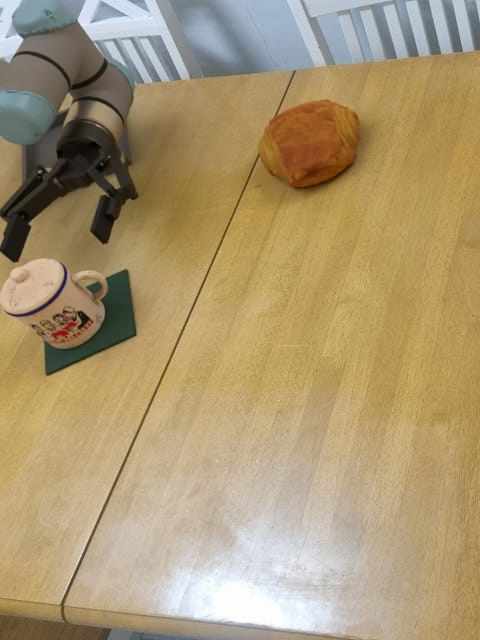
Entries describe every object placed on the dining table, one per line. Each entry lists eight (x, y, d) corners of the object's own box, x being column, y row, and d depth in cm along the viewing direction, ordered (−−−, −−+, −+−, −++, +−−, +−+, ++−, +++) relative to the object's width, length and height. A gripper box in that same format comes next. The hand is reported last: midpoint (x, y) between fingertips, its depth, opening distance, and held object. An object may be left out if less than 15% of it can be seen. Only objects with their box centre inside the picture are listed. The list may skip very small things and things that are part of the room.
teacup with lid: (50, 362, 99) (-17, 313, 89) (45, 316, 104) (-19, 264, 94) (131, 322, 100) (73, 269, 90) (122, 278, 105) (67, 223, 95)
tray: (32, 208, 119) (22, 198, 117) (30, 139, 130) (21, 128, 128) (132, 164, 119) (123, 152, 117) (122, 98, 130) (113, 87, 128)
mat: (47, 375, 98) (45, 374, 98) (44, 307, 106) (42, 306, 105) (136, 335, 99) (134, 333, 98) (127, 270, 106) (126, 268, 106)
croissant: (275, 151, 116) (245, 112, 110) (362, 110, 113) (336, 68, 107) (277, 212, 108) (244, 175, 102) (371, 170, 105) (343, 129, 99)
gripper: (180, 141, 111) (154, 247, 99) (34, 174, 114) (-7, 280, 103) (151, 101, 104) (119, 209, 93) (-3, 137, 108) (-51, 246, 97)
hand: (53, 247), depth 98 cm, fingers open, 13 cm apart
